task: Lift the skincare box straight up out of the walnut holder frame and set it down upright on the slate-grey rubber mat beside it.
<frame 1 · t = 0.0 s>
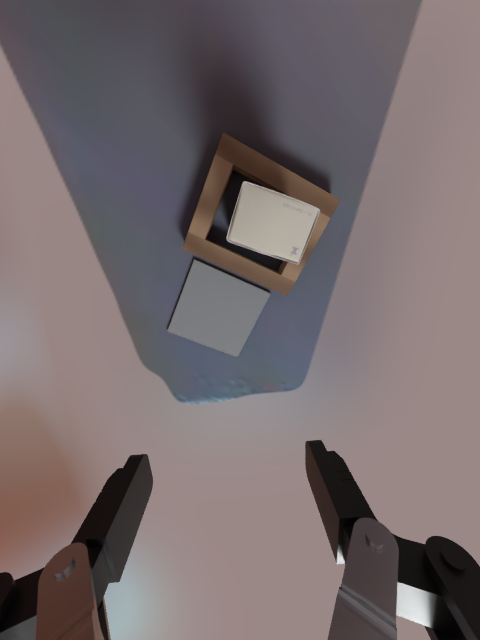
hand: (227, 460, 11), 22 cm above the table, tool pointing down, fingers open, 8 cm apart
slate mat: (217, 311, 32), on the table
walnut holder: (257, 224, 28), on the table
skincare box: (256, 224, 28), resting in walnut holder
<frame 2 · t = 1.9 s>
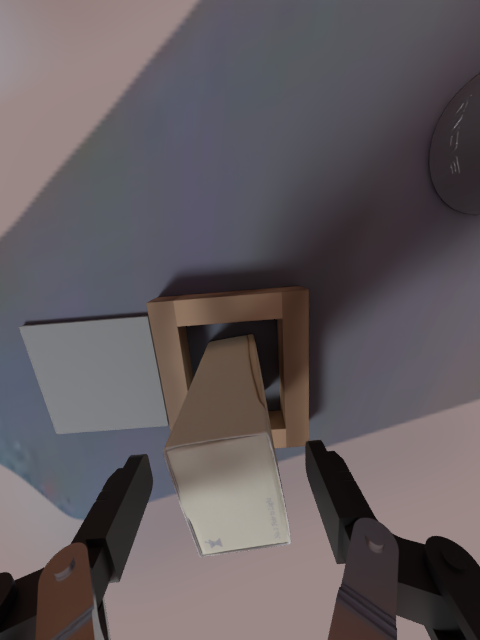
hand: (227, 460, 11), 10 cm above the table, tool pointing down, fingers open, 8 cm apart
slate mat: (101, 377, 21), on the table
walnut holder: (235, 367, 21), on the table
skincare box: (235, 365, 21), resting in walnut holder
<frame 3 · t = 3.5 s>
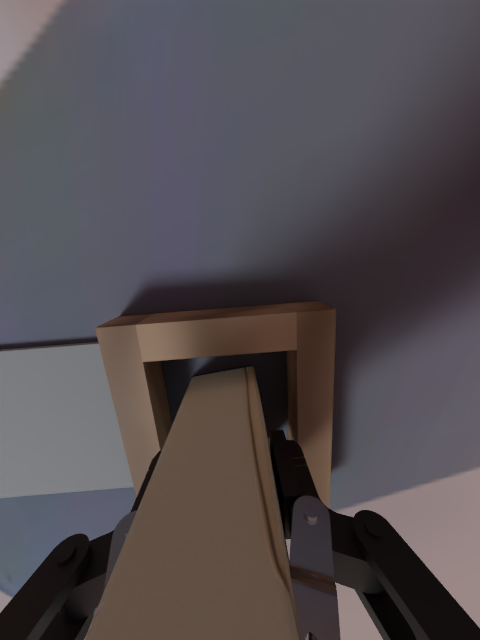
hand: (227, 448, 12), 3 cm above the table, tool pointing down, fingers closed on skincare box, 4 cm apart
slate mat: (44, 424, 15), on the table
walnut holder: (229, 409, 15), on the table
skincare box: (229, 407, 16), resting in walnut holder, touching gripper
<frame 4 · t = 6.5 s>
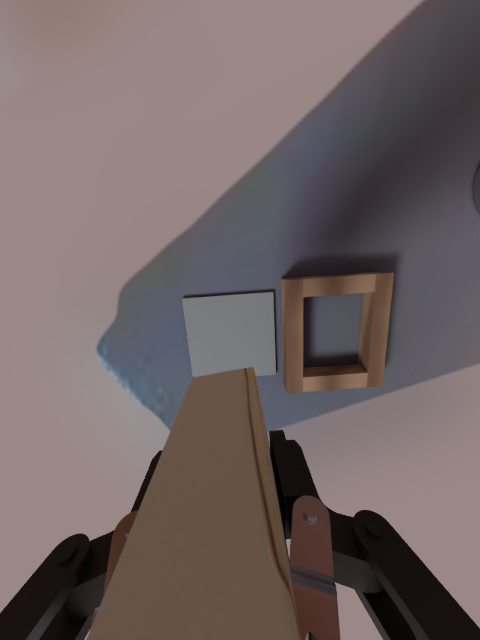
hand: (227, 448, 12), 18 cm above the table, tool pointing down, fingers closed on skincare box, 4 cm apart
slate mat: (231, 337, 29), on the table
walnut holder: (328, 330, 29), on the table
skincare box: (229, 407, 16), point 14 cm above the table, touching gripper
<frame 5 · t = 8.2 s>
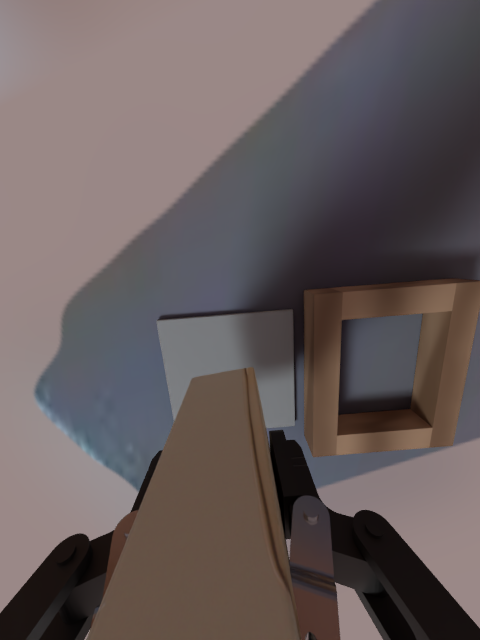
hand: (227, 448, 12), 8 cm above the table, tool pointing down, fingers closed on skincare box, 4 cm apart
slate mat: (230, 374, 20), on the table
walnut holder: (371, 363, 20), on the table
skincare box: (229, 407, 16), point 5 cm above the table, touching gripper
when the fingers open (5 cm above the table, at t = 9.7 s): skincare box drops 1 cm, resting on slate mat.
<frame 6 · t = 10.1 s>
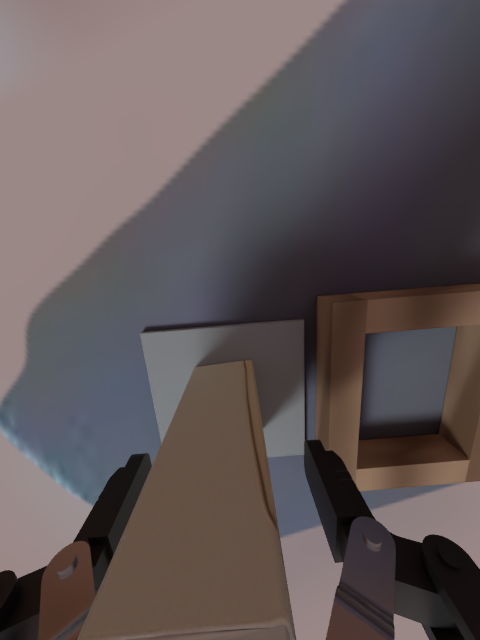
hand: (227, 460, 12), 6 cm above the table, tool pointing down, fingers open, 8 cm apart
slate mat: (229, 395, 17), on the table
walnut holder: (395, 382, 17), on the table
skincare box: (227, 397, 17), resting on slate mat
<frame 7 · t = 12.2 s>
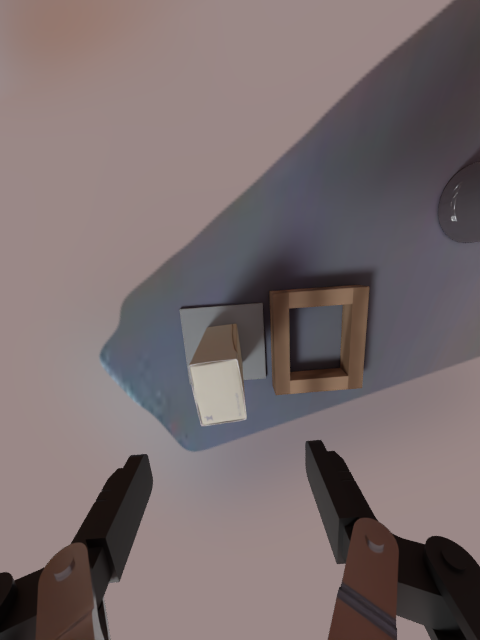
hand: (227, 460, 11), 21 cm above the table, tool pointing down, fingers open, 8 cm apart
slate mat: (224, 344, 32), on the table
walnut holder: (313, 337, 32), on the table
skincare box: (223, 344, 32), resting on slate mat
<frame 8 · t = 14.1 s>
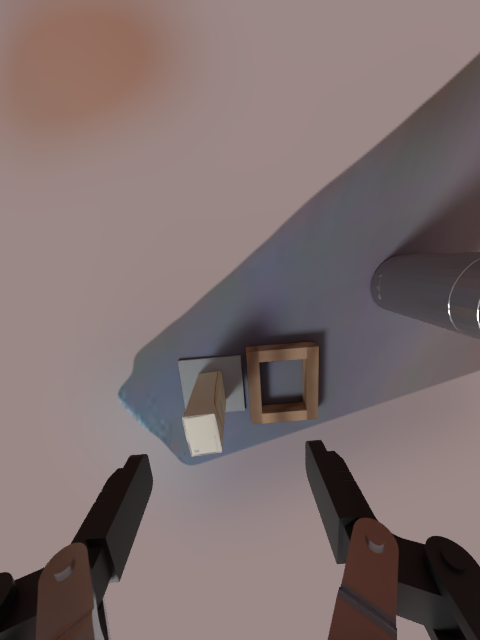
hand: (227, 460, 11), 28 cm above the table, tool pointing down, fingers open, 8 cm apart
slate mat: (212, 385, 42), on the table
walnut holder: (280, 379, 42), on the table
skincare box: (211, 385, 41), resting on slate mat
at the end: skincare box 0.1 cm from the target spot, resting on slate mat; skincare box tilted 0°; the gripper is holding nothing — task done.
